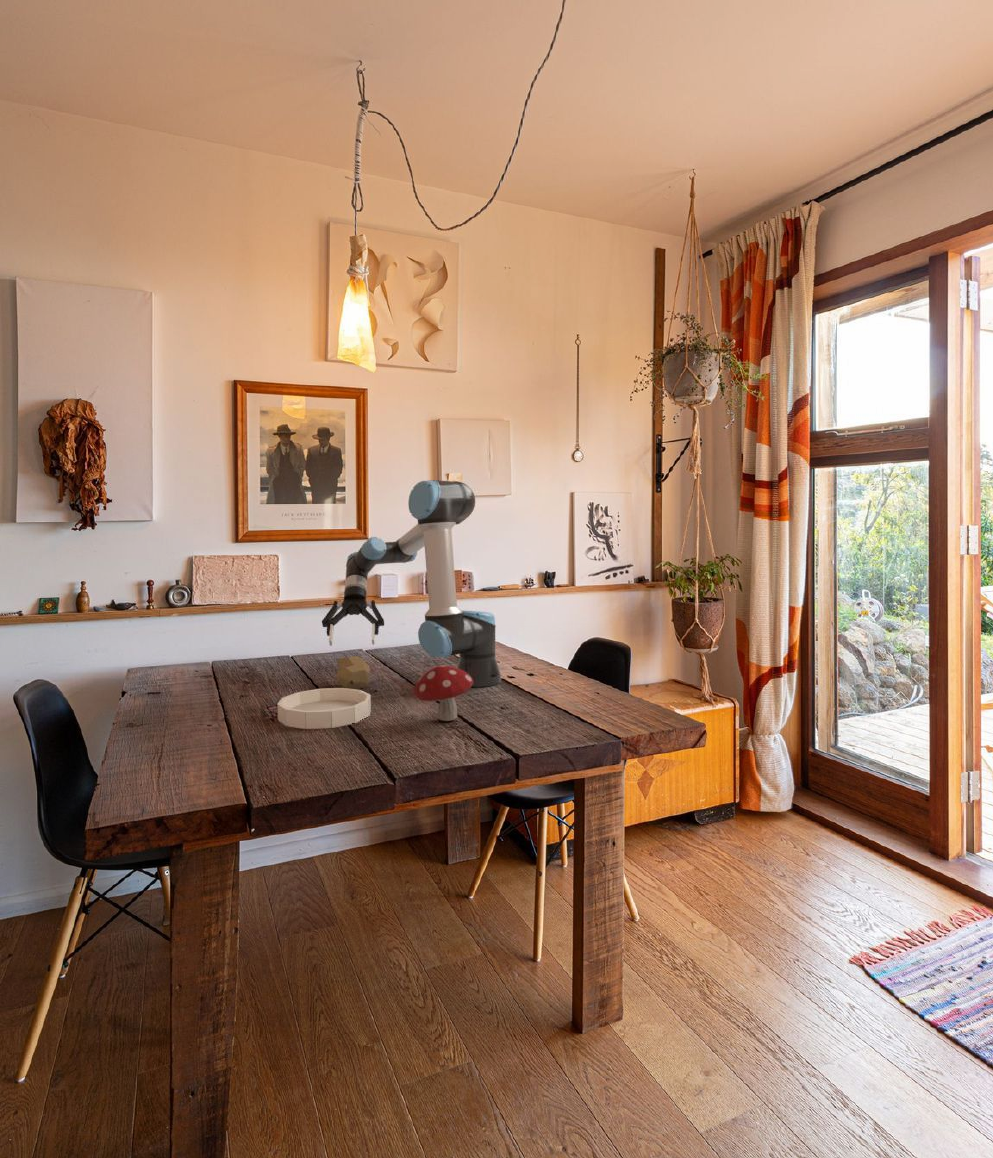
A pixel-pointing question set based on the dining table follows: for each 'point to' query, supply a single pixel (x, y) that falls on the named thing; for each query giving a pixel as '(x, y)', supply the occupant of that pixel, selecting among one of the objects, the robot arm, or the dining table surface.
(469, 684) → the decorative mushroom
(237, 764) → the dining table surface
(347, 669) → the low-poly potato
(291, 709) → the cream bowl
